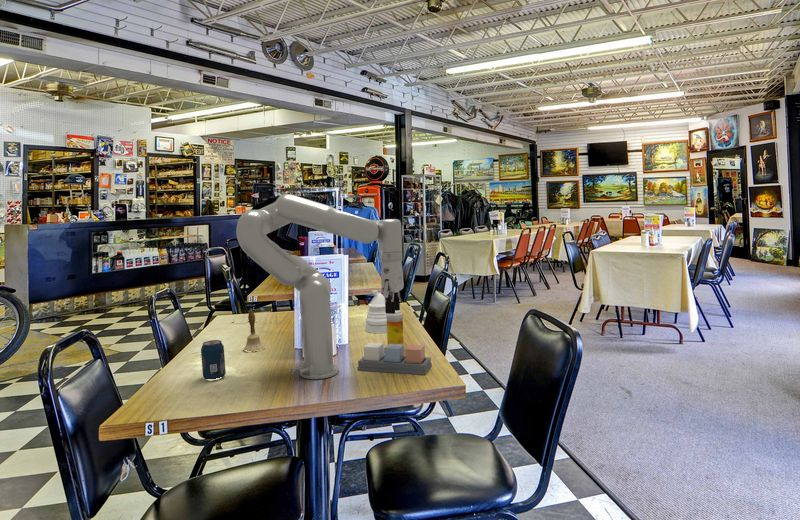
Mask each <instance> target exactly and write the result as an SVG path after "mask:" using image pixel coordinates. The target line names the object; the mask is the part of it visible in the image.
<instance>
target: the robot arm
mask: <svg viewBox="0 0 800 520" xmlns="http://www.w3.org/2000/svg"><path fill="white" fill-rule="evenodd" d="M291 223H292V224H297V225H300V226H303V227H307V228H311V229H312V230H317V231H320V232H321V233H325V234H326V233H327V234H332V235H335V236H338V237H342V238H346V239H349V240H352V241H355V242H359V243H362V244H371V243H373V242H375V241H378V253H379V255H378V257H379V258H378V259H379V263H381V268H380V280H381V283H380V284H381V285H380V287H381V291H382V292H383V293H382V295H383V296H384V297H385V312H386V314H395V311H399V310H400V311H401V302H400V301H401V300H400V299H401V298H400V297H401V296H400V291H402V290H403V289H404V285H405V283H404V282H405V281H404V272H403V263H402V262H403V241H402V240H403V239H402V238H403V237H402V222H401V220H400V219H398V218H386V219H381V220H377V219H369V218H364V217H361V216H359V215H355V214H352V213H349V212H346V211H342V210H339V209H338V208H335V207H333V206H331V205H328V204H324V203H321V202H319V201H314V200H311V199H307V198H305V197H302V196H298V195H294V194H291V193H284V194H281V195H280V196H279V197H278V198H277V199H276V200H275V201H274V202H273V203H270V204H268V205H265V206H264V207H262V208H259V209H250V210H247V211H245V212H244V213H242V214H241V216H240V217H239V218H238V221H237V224H236V231H235V232H236V239H237V242H238V245H239V246H240V248H241V249H242V251H243V252H244V253H245V254H246V255H247V256H248V257H250V260H251V259H252V260H253V261H254V262H255V263H256V264H258V266H259V267H261V268H262V269H263V270H264V271H265V272H267V273H268V274H269V275H271V276H272V277H273V278H275V280H277V281H278V282H279V283H280V284H282V285H284V286H287V287H289V286H290V287H291V286H292V287H293V288H294V289H295V290H296V291H298V292H299V306H300V315H301V328H302V330H301V331H302V346H303V360H302V361H300V364H299V365H298V366H293V367H291V368H290V373H291V374H297V373H299V376H300V377H302V378H304V379H308V380H322V379H327V378H331V377H333V376H335V375H337V374H338V373H339V370H340V369H339V366H337V365H335V363H334V362H335V361H334V348H333V347H334V346H333V329H332V328H333V326H332V324H333V323H332V311H331V310H332V309H331V308H332V307H331V292H332V286H331V282H330V281H329V279H328V278H327V276H325V275H324V274H322V273H321V272H320V271H319V270H317V269H316V268H315V267H314V266H312V265H311V264H310V263H309V262H307V260H306V259H304V258H303V257H300V256H299V255H297V254H290V253H288V252H286V251H285V250H284V249H283V248H281V247H280V246H279V245H278V244H277V243H276V242H274V241H273V240H271V239H270V238H269V237H268V236H267V235H268V234H270V233H272V232H274V231H277V230H278V229H281V228H282V227H285V226H286V225H288V224H291Z"/></svg>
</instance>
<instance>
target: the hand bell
mask: <svg viewBox="0 0 800 520" xmlns="http://www.w3.org/2000/svg"><path fill="white" fill-rule="evenodd" d="M247 318H248V323H249V326H250V327H249V328H250V334H249V335H248V336H247V338H246V339H247V340H246V345H245V346H244V347H243V349H244V350H247V351H255V350H260V349H263V348H264V347H265V346H264V345H263V344H262V343H261V342H262V341H261V340H260V335H258V334H256V327H255V323H256V315H255V312H254V309H249V311H248V316H247Z"/></svg>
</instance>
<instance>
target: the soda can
mask: <svg viewBox="0 0 800 520" xmlns="http://www.w3.org/2000/svg"><path fill="white" fill-rule="evenodd" d="M224 347H225V346H224V344H223V343H222V340H219V339H212V340H207V341H203V342H202V346H201V347H200V356H201V357H200V358H201V368H202V377H203V379H204V378H205V379H216V378H220V377H223V376H224V375H225V376H226V374H227V373H226V372H227V370H226V359H225V348H224ZM225 376H224V377H225ZM205 379H204V380H205Z"/></svg>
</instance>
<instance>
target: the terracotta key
mask: <svg viewBox="0 0 800 520" xmlns="http://www.w3.org/2000/svg"><path fill="white" fill-rule="evenodd" d="M425 346H426V345H424V344H423V345H420V344H419V345H418V344H408V346H407V347H406V348H404V356H405V360H406V363H419V364H421V363H422V362H423V361H424V359H425V357H426V349H425Z"/></svg>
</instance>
